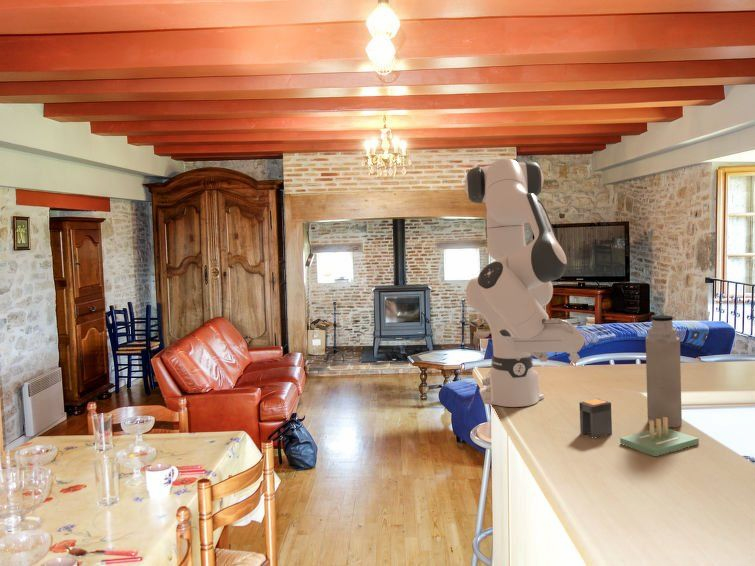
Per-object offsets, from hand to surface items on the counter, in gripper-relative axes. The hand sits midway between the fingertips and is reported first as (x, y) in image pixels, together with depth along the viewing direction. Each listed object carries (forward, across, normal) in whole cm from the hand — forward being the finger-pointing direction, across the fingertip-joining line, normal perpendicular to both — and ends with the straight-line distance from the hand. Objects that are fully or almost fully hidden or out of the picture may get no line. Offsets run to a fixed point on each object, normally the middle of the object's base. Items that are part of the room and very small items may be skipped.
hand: (560, 360), depth 145 cm
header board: (+27, -12, +3) cm, 30 cm away
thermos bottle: (+36, -5, -9) cm, 37 cm away
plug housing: (+23, +2, +5) cm, 23 cm away
